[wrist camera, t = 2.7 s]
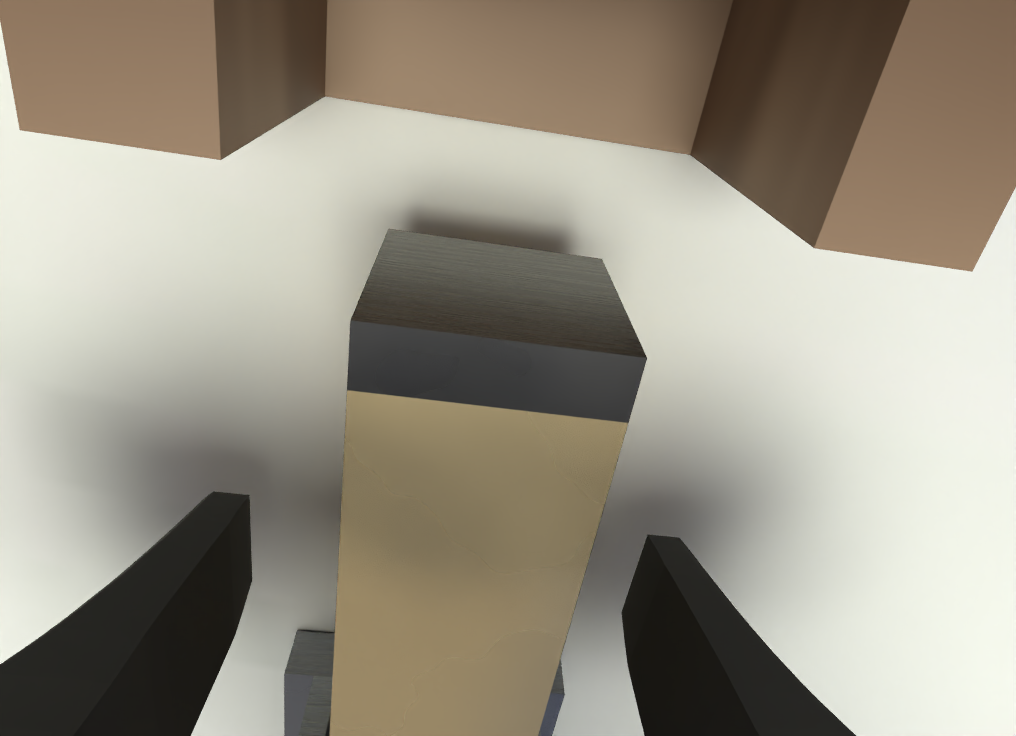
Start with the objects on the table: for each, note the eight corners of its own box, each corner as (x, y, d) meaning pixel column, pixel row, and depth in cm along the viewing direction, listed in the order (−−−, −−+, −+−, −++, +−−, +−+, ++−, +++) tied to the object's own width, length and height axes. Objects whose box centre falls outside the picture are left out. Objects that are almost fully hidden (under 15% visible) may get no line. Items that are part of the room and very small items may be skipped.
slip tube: (469, 823, 16) (466, 982, 14) (344, 816, 16) (317, 977, 13) (602, 259, 10) (646, 357, 7) (388, 229, 9) (350, 319, 7)
